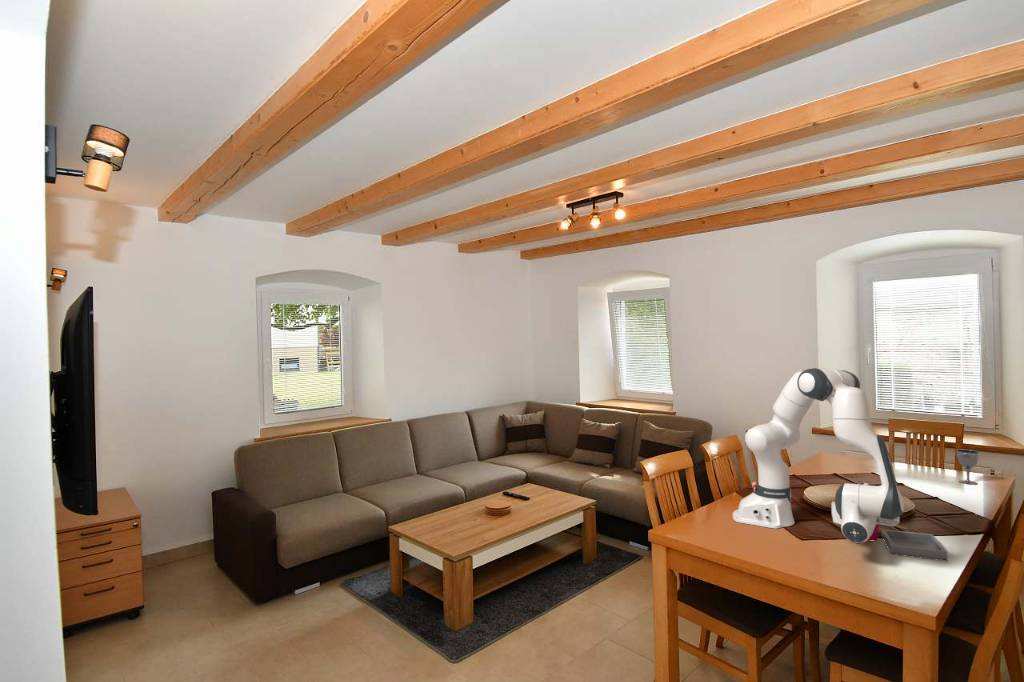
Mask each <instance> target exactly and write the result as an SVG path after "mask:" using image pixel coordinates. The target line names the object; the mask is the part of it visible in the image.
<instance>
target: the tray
mask: <svg viewBox="0 0 1024 682" xmlns="http://www.w3.org/2000/svg"><path fill="white" fill-rule="evenodd" d="M881 537H883V538H882V540H883V539H884V540H885V541H884V540H883V541H884V543H885V542H886V543H885V545H886V544H887V545H886V547H887V546H888V547H887V549H888V548H889V549H888V550H889V552H890V554H891V555H895V554H897V555H898V556H903V555H906V556H905V557H911V556H913V558H920V557H921V559H928V558H929V560H930V559H931V560H936V559H937V561H939V560H940V561H945V562H948V551H946V549H945V548H944V547H943V545H941V543H940V542H939V540H938V539H937V538H936V536H935V535H934V534H931V533H922V532H910V531H903V530H894V529H884V528H883V529H881ZM897 555H896V556H897Z"/></svg>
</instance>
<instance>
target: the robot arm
mask: <svg viewBox="0 0 1024 682" xmlns="http://www.w3.org/2000/svg"><path fill="white" fill-rule="evenodd" d="M815 400H816V401H817V400H818V401H820V402H824V401H827V402H828V403H829V404H830V406H831V411H832V412H831V414H832V427H833V429H832V430H833V433H834V435H835V437H836V438H837V439H838V440H839V441H841V443H842V444H845V445H847V446H848V447H851V448H853V449H856V450H859V451H862V452H865V453H866V454H868V455H869V456H871V457H872V458H873V460H874V461H875V463H876V467H877V471H878V474H879V478H880V479H879V480H880V482H881V484H880V485H870V484H869V485H863V484H860V483H847V482H845V483H842V484H841V485H840V486H839V487H838V488H837V490H836V492H835V495H834V501H832V502H831V503H830V504H831V517H832V522H833V523H835V524H837V525H840V530H841V533H842V535H843V536H844V537H845V538H846V539H847V540H849V541H850V542H852V543H858V544H859V543H865V542H868V541H867V540H868V539H869V538H870V537H871V535H872V534H873V531H874V529H875V526H876V524H878V525H879V526H880V525H881V526H888V527H896V526H897V525H899V524H900V519H901V518H900V516H902V515H903V514H904V510H905V502H904V499H903V496H902V493H901V492H900V490H899V489H900V488H899V487H898V486H899V485H898V483H897V480H896V479H897V478H896V474H895V472H894V468H893V465H892V460H891V456H890V453H889V450H888V447H887V444H886V442H885V440H884V437H882V436H881V435H879V434H877V433H876V431H875V430H874V428H873V424H872V421H871V411H870V406H869V401H868V397H867V395H866V393H865V391H864V390H863V389H861V382H860V380H859V377H857V375H855V374H854V373H852V372H850V371H848V370H842V369H841V370H840V369H835V368H817V367H813V368H806V369H805V370H799V371H797V372H796V373H794V374H793V375H792V376H791V378H790V379H789V380H788V381H787V382H786V384H785V385H784V387H782V390H781V392H780V393H779V395H778V396H777V399H776V400H775V402H774V404H773V405H772V412H773V413H774V414H773V416H772V419H771V420H770V421H769V422H768V423H767V422H766V423H763V424H758V425H755V426H752V428H750V429H748V430H747V431H746V432H745V435H744V436H745V437H744V441H745V444H746V447H747V448H748V449H749V450H750V451H751V452H752V453H753V455H754V457H755V460H756V465H757V476H758V483H757V482H756V481H753V482H752V483H751V487H752V492H751V493H750V494H749V495H746V496H745V497H743V498H742V499H741V500H740V502H739V504H738V507H737V508H738V509H736V510H734V511H733V512H732V520H734V521H735V522H736V523H741V524H747V525H752V526H757V527H765V528H770V529H776V530H777V529H780V528H785V527H791V526H793V525H794V524H795V523H796V522H795V519H794V516H793V511H792V505H791V501H792V490H791V486H790V468H789V465H788V464H787V463H786V462H784V460H783V457H782V452H781V451H782V450H785V449H790V448H791V447H793V446H794V445H795V444H798V442H799V441H800V439H801V431H800V426H801V423H802V421H803V420H804V417H805V416H806V414H807V413H808V411H809V410H810V408H811V406H812V404H813V403H814V401H815Z"/></svg>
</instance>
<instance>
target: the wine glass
mask: <svg viewBox="0 0 1024 682" xmlns="http://www.w3.org/2000/svg"><path fill="white" fill-rule="evenodd" d="M956 456H957V460H958V462H959V464H960V465H961V466H962V467H963V468H964V470H965V472H966V479H965V480H958V483H960V484H964V485H970V486H975V485H976V486H977V485H979V483H978V482H976V481H973V480H972V481H971V479H970V473H971V472H970V471H971V470H972V469H973V468H974V467H976V466H977V465H978V462H979V459H980V452H979V451H978V450H974V449H967V448H962V449H961V448H959V449H956Z"/></svg>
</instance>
